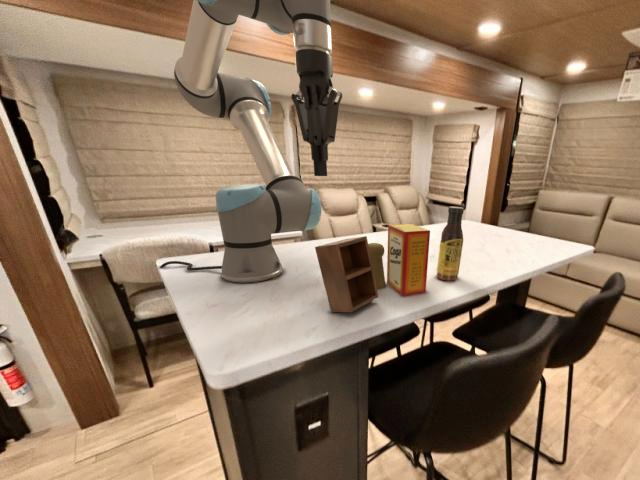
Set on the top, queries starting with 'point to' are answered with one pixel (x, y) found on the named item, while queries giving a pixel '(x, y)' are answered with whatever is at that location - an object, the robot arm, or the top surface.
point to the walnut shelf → (347, 274)
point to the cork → (377, 263)
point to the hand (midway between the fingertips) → (320, 175)
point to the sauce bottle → (451, 246)
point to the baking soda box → (407, 258)
